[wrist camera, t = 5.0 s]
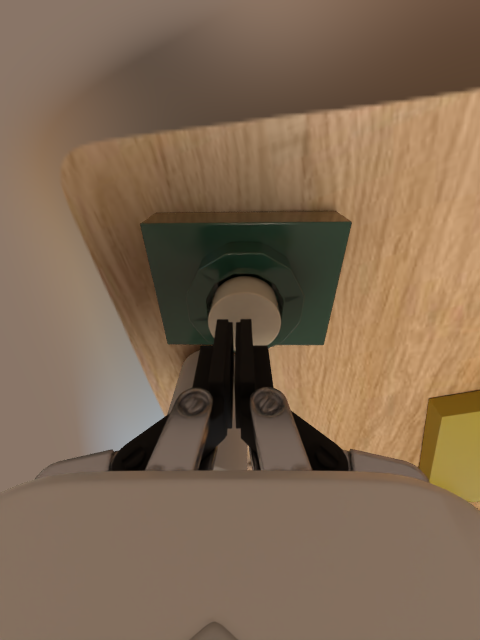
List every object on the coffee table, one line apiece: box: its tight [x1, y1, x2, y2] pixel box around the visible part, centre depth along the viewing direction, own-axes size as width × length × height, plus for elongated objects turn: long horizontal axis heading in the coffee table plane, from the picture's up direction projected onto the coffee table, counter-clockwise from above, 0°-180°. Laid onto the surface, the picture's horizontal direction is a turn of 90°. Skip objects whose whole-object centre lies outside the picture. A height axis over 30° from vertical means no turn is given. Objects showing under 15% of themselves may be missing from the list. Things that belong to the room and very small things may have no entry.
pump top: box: [208, 276, 281, 351], centre depth 14 cm, size 4×4×2 cm
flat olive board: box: [419, 390, 480, 502], centre depth 31 cm, size 12×2×24 cm
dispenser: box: [140, 211, 352, 352], centre depth 17 cm, size 12×9×5 cm
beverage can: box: [167, 351, 247, 471], centre depth 20 cm, size 6×6×12 cm
